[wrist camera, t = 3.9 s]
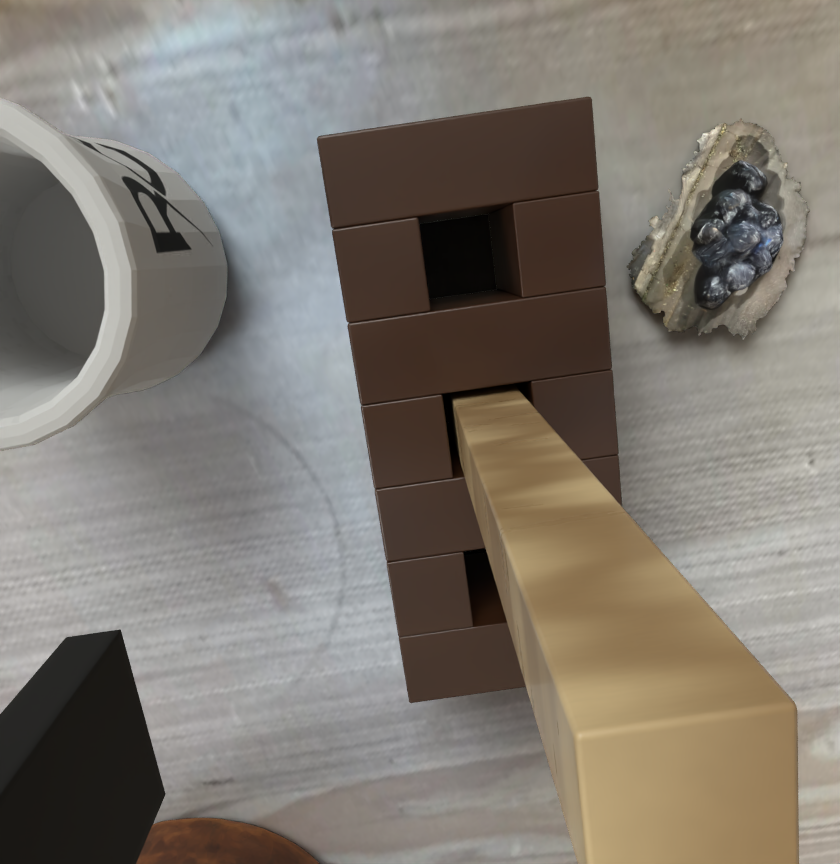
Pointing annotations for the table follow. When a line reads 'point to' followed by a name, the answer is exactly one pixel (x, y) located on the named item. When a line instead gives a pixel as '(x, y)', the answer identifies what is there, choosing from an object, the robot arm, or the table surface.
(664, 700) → the stick
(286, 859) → the case
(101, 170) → the mug
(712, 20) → the table surface
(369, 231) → the holder
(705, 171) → the mineral rock specimen
